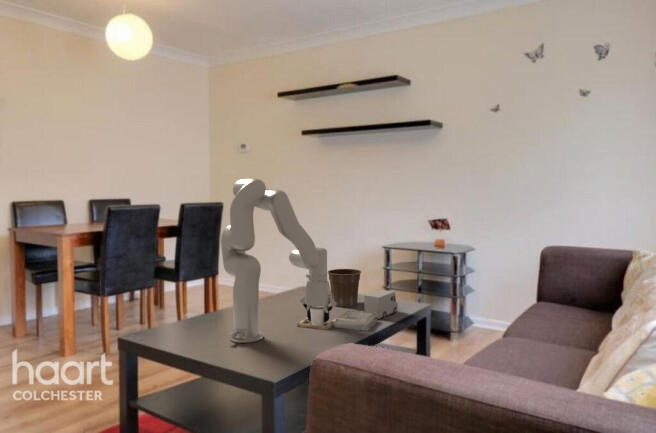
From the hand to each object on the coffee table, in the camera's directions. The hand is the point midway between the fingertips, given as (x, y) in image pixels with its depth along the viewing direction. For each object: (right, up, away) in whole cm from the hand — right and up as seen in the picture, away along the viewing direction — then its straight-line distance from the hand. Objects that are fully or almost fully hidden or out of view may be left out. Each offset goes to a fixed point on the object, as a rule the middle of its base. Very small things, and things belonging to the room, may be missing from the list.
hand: (318, 320), depth 200 cm
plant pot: (+12, 0, +33) cm, 35 cm away
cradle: (0, -1, 0) cm, 2 cm away
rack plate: (+16, -2, -1) cm, 16 cm away
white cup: (0, -2, 0) cm, 2 cm away
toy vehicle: (+28, -1, +14) cm, 31 cm away
